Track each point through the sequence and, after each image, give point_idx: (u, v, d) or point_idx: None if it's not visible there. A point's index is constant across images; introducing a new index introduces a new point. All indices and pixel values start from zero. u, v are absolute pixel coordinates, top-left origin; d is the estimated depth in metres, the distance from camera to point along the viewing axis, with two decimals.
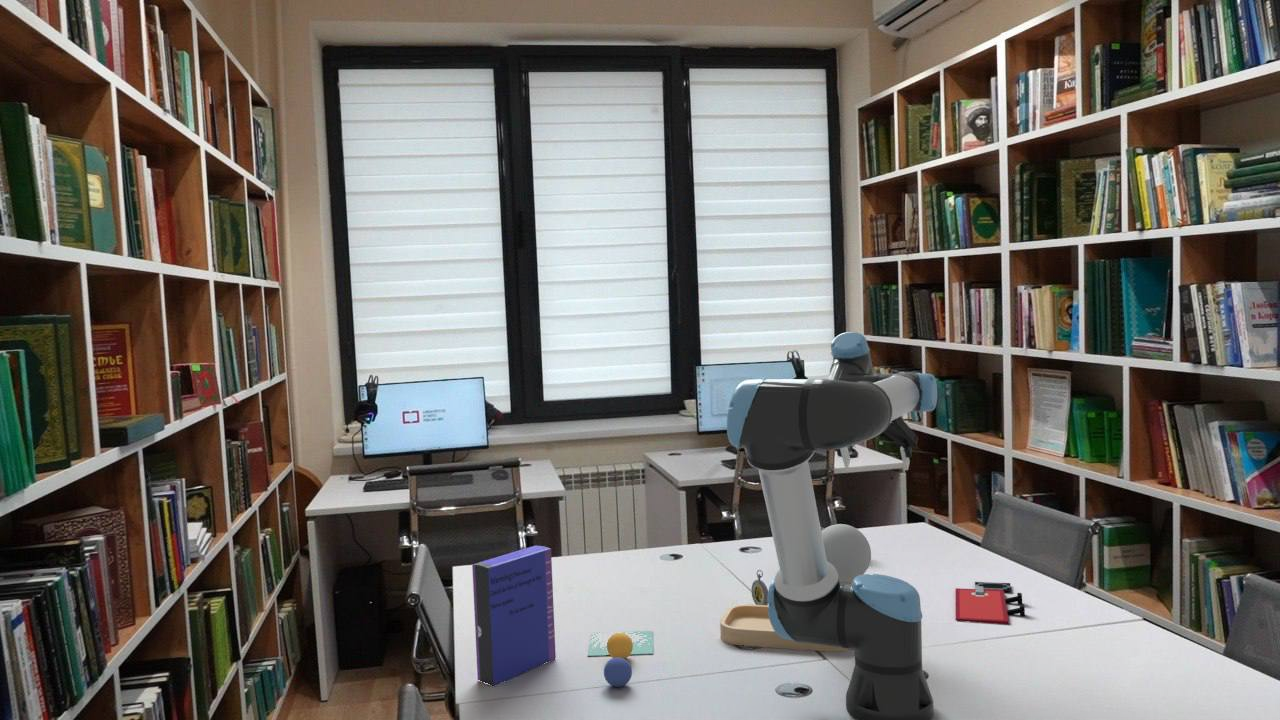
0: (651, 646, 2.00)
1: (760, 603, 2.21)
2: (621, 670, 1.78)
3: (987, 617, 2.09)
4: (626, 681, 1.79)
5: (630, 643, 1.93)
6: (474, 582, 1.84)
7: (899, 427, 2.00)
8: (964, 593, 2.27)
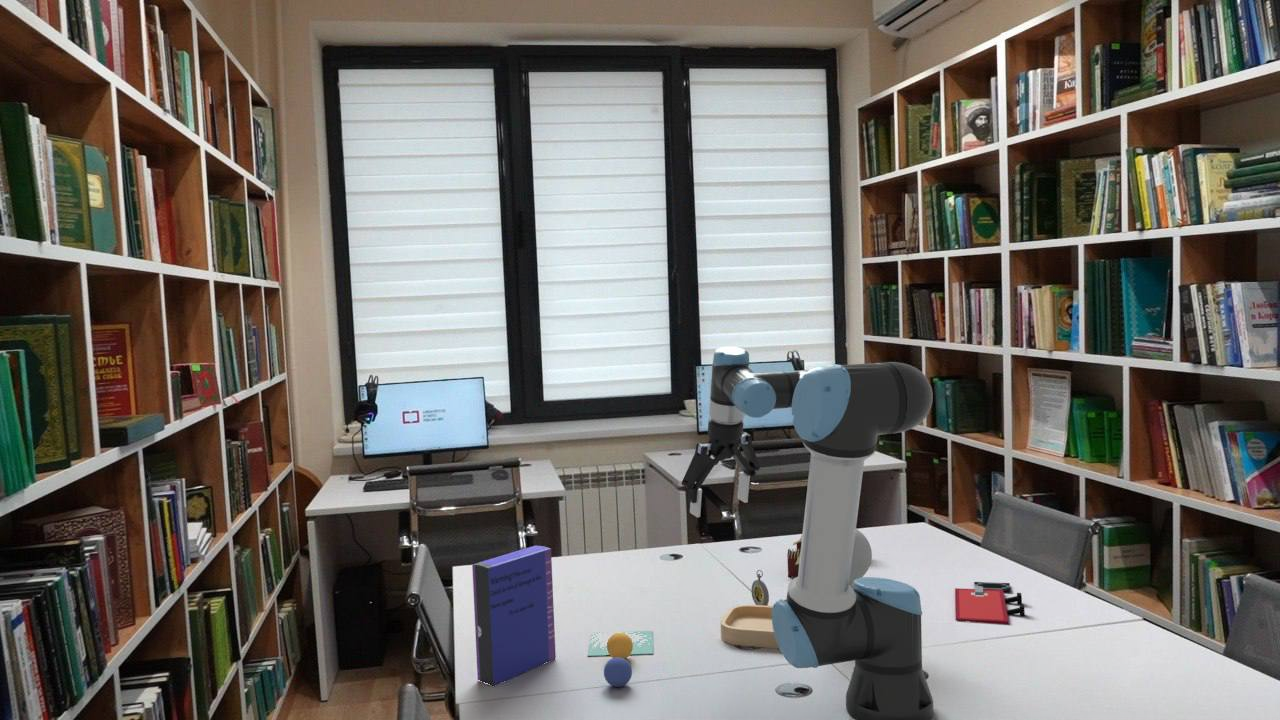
0: (651, 646, 2.00)
1: (760, 603, 2.21)
2: (621, 670, 1.78)
3: (987, 617, 2.09)
4: (626, 681, 1.79)
5: (630, 643, 1.93)
6: (474, 582, 1.84)
7: (752, 448, 2.03)
8: (964, 593, 2.27)
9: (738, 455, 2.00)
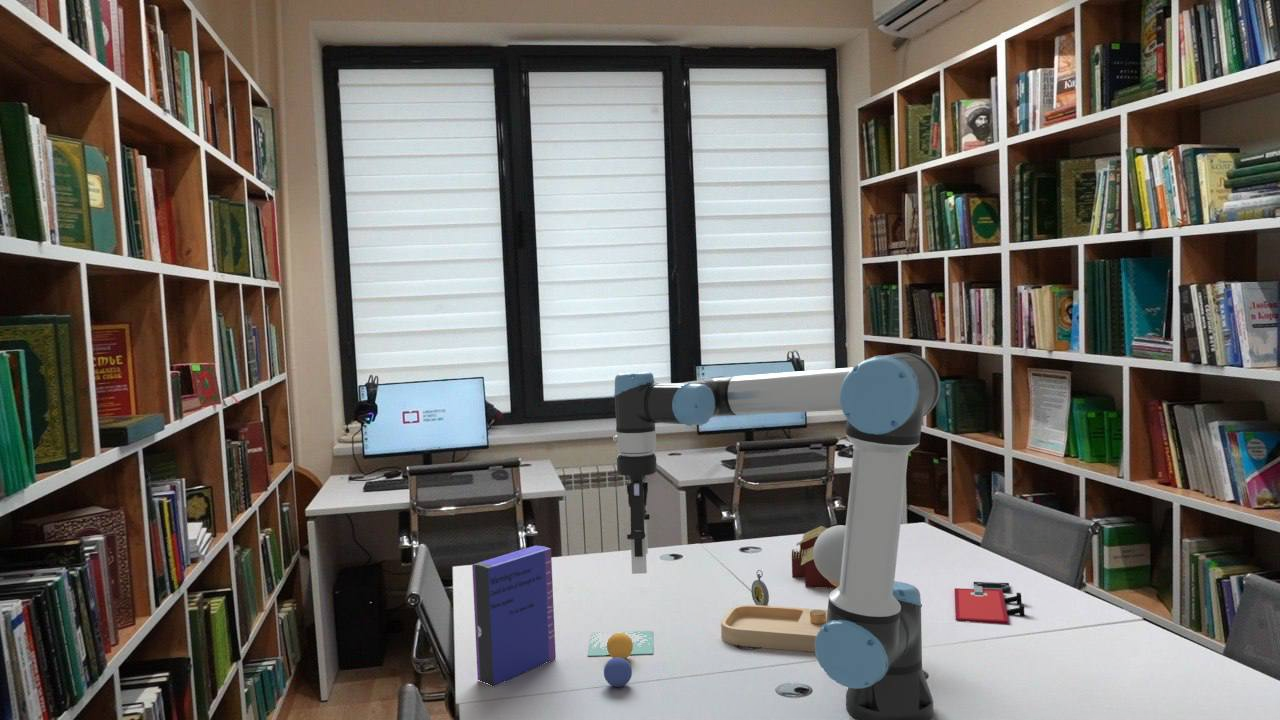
0: (651, 646, 2.00)
1: (760, 603, 2.21)
2: (621, 670, 1.78)
3: (987, 617, 2.10)
4: (626, 681, 1.79)
5: (630, 643, 1.93)
6: (474, 582, 1.84)
7: None
8: (963, 593, 2.27)
9: None
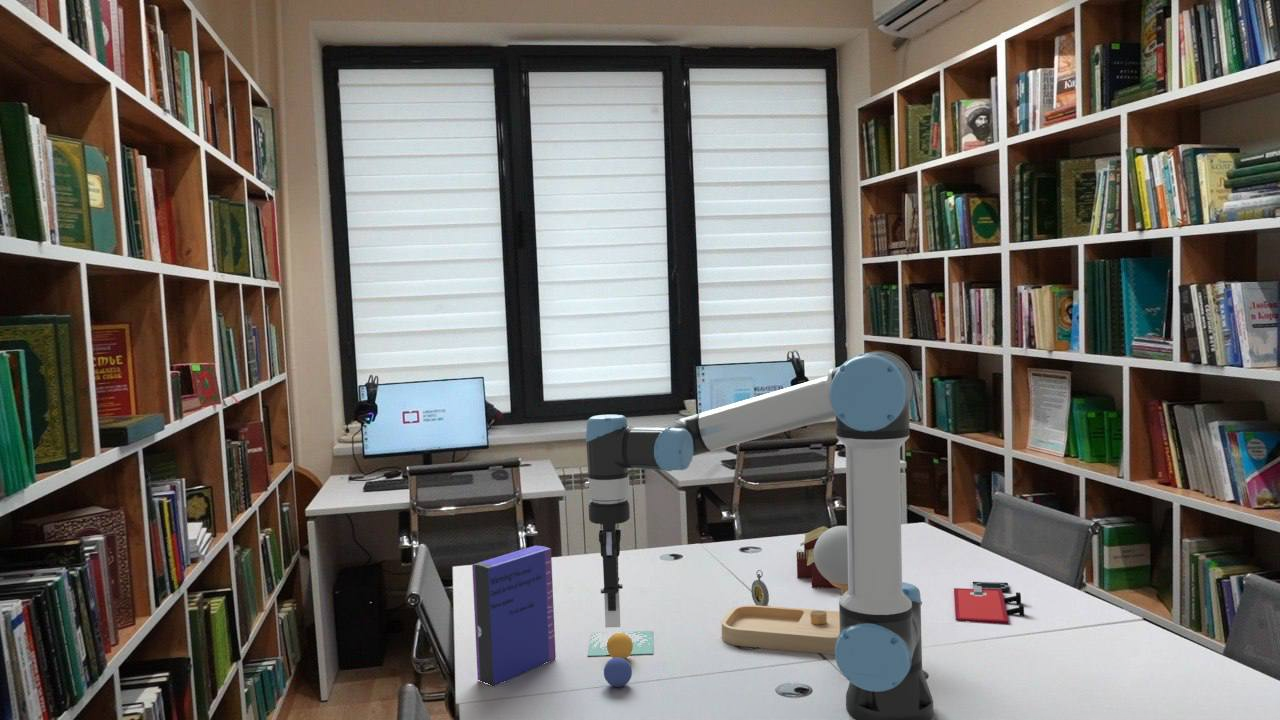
0: (651, 646, 2.00)
1: (760, 603, 2.21)
2: (621, 670, 1.78)
3: (987, 617, 2.10)
4: (626, 681, 1.79)
5: (630, 643, 1.93)
6: (474, 582, 1.84)
7: None
8: (963, 593, 2.27)
9: (619, 547, 1.71)
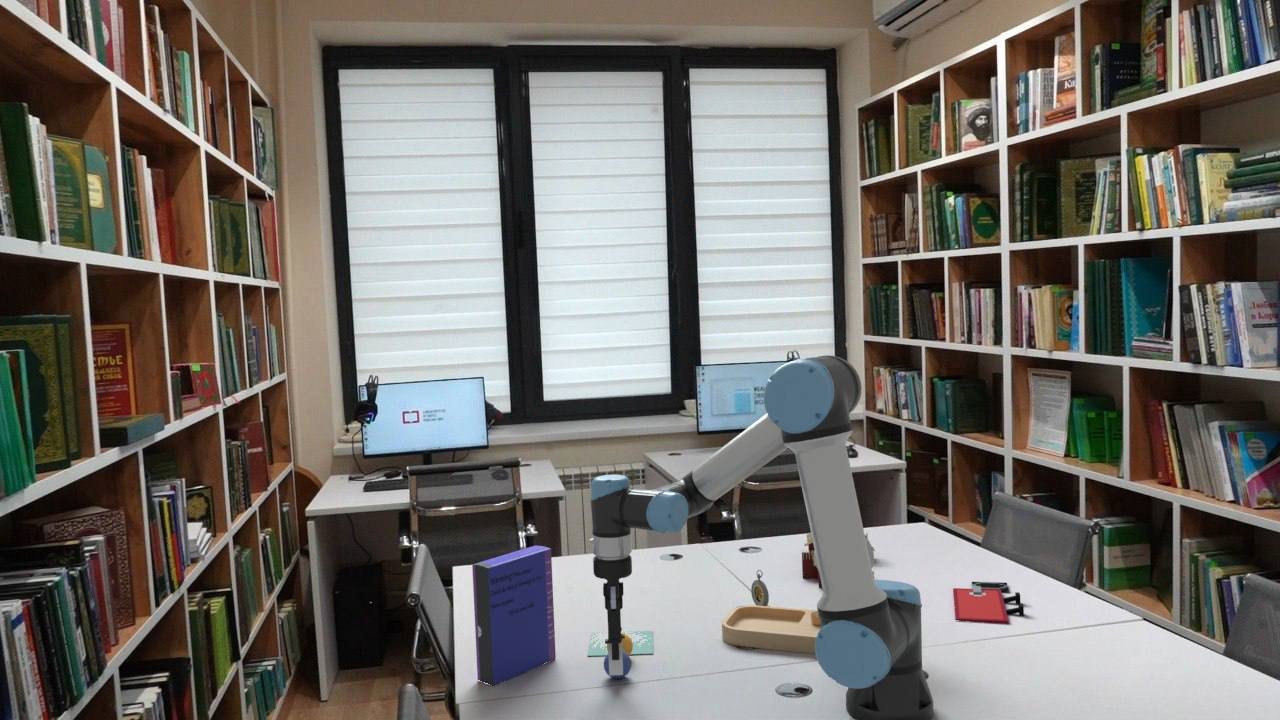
0: (651, 646, 2.00)
1: (760, 603, 2.21)
2: None
3: (987, 617, 2.10)
4: (625, 662, 1.82)
5: (630, 643, 1.93)
6: (474, 582, 1.84)
7: None
8: (962, 593, 2.27)
9: (622, 599, 1.81)
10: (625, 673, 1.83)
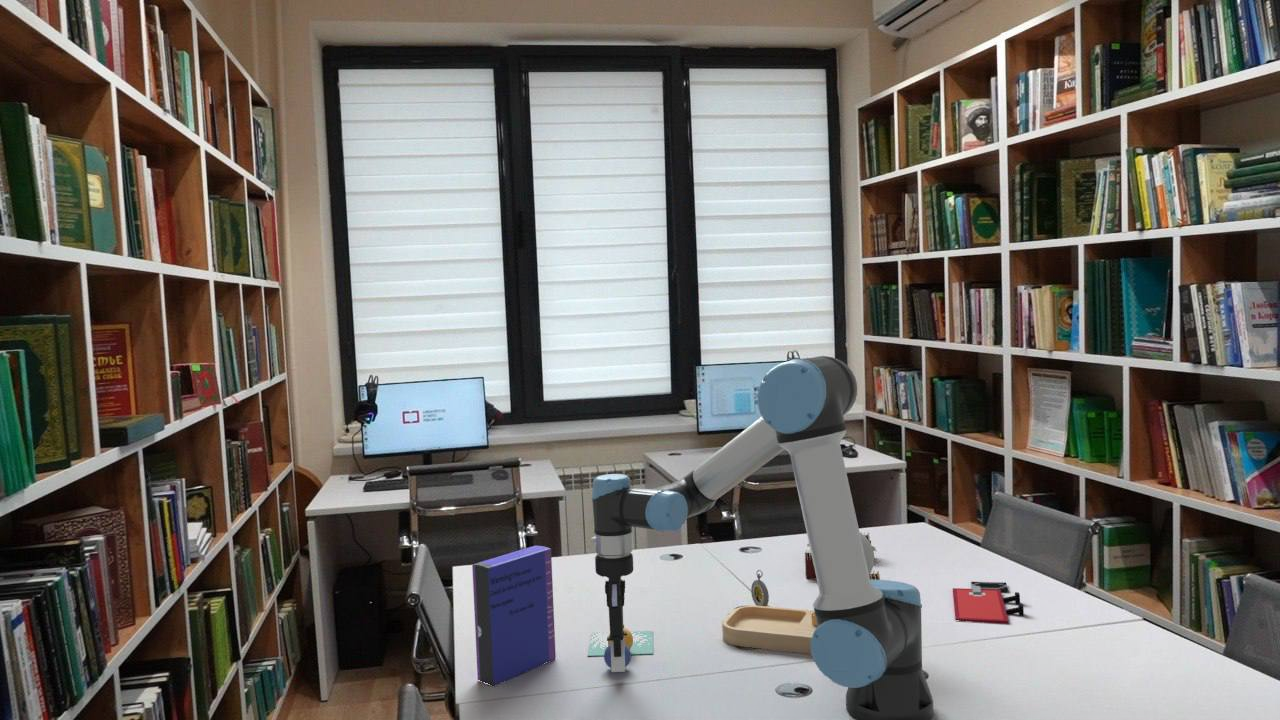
0: (651, 646, 2.00)
1: (760, 603, 2.21)
2: None
3: (987, 617, 2.10)
4: None
5: (630, 633, 1.98)
6: (474, 582, 1.84)
7: None
8: (962, 593, 2.27)
9: None
10: None
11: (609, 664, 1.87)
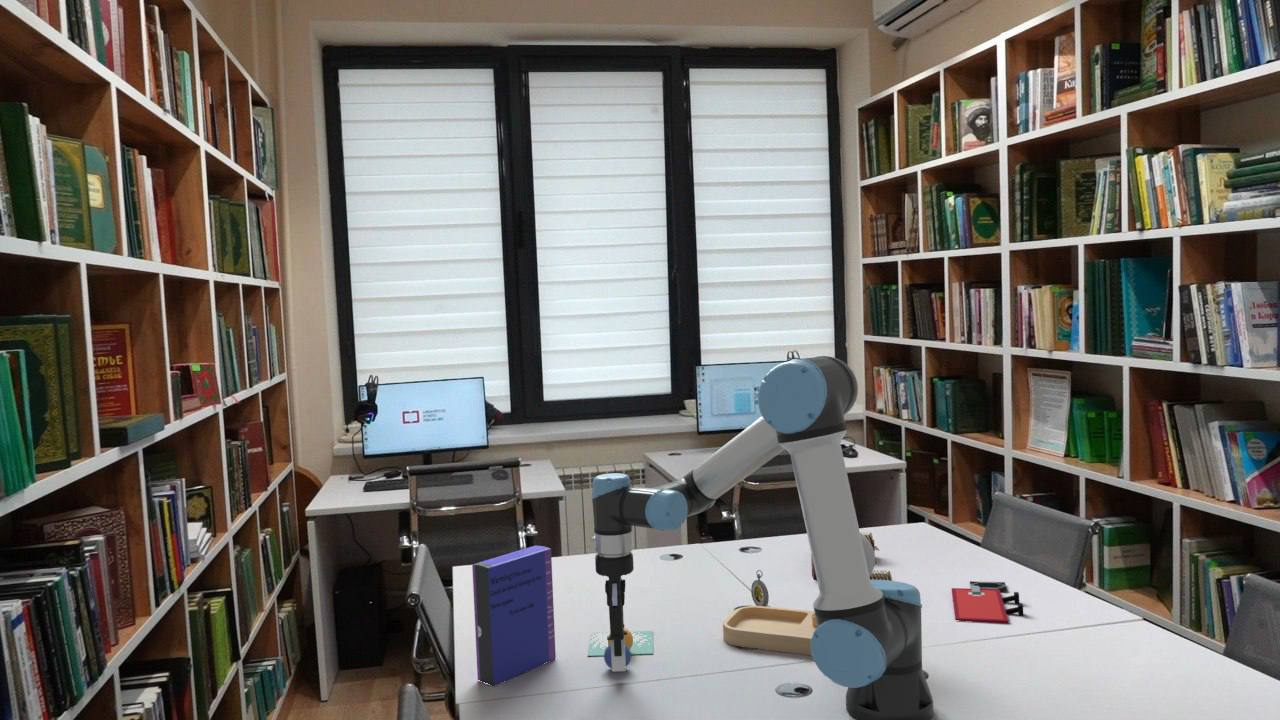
0: (651, 646, 2.00)
1: (760, 603, 2.21)
2: None
3: (987, 617, 2.10)
4: None
5: (630, 633, 1.98)
6: (474, 582, 1.84)
7: None
8: (961, 593, 2.27)
9: (624, 596, 1.84)
10: None
11: (609, 664, 1.87)
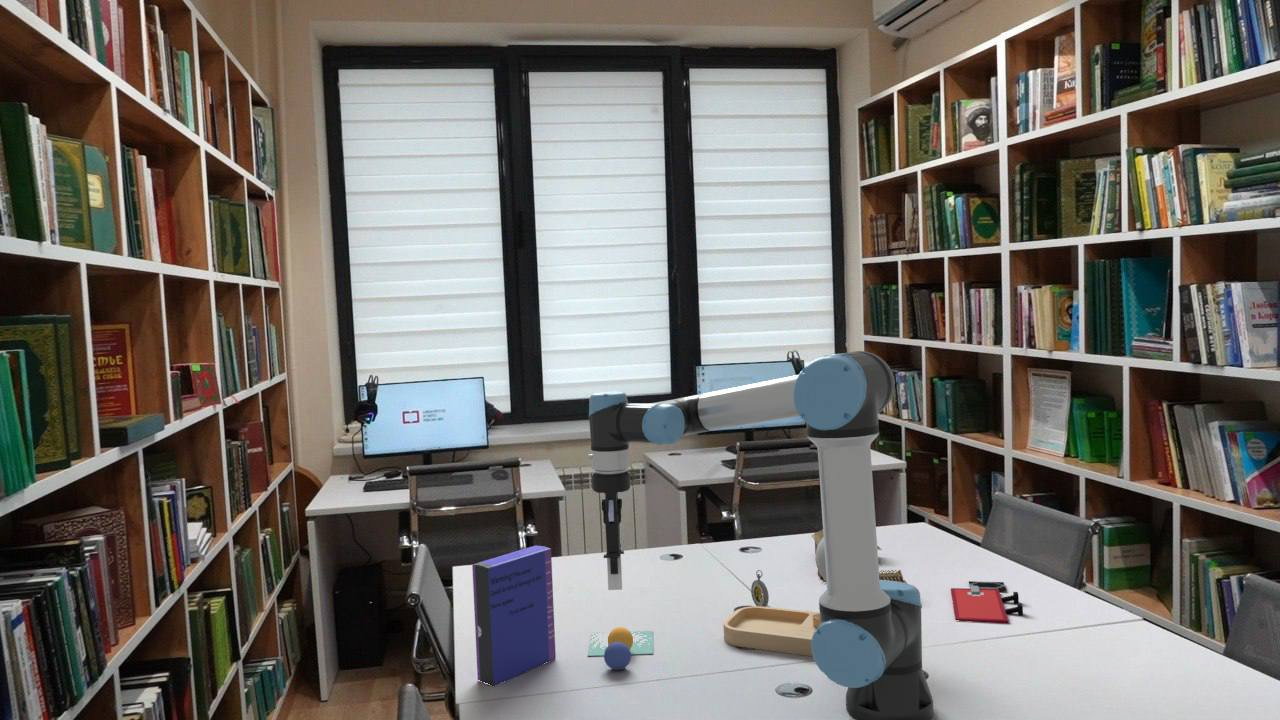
0: (651, 646, 2.00)
1: (760, 603, 2.21)
2: None
3: (987, 617, 2.10)
4: (624, 644, 1.90)
5: (630, 633, 1.98)
6: (474, 582, 1.84)
7: None
8: (960, 593, 2.27)
9: None
10: (624, 648, 1.87)
11: (609, 664, 1.87)
